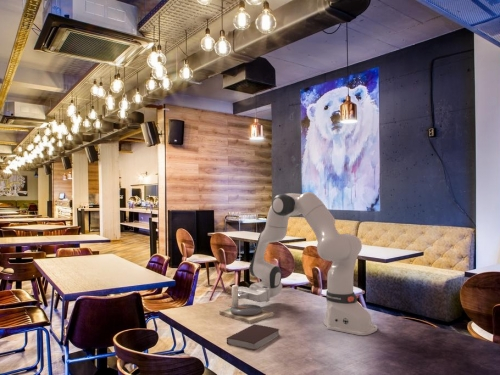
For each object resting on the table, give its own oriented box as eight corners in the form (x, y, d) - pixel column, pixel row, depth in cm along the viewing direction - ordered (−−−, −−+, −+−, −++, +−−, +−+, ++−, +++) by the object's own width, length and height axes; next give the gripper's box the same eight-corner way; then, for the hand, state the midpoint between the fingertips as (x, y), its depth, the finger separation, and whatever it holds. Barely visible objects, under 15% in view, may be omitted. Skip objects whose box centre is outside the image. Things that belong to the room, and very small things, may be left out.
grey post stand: (267, 308, 185) (267, 285, 185) (253, 317, 171) (253, 292, 172) (236, 304, 192) (236, 282, 193) (220, 312, 179) (220, 288, 179)
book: (226, 345, 145) (226, 336, 145) (253, 330, 161) (253, 322, 161) (254, 352, 138) (254, 343, 138) (280, 336, 154) (280, 328, 154)
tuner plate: (273, 315, 180) (273, 312, 180) (249, 323, 169) (249, 319, 169) (243, 307, 194) (243, 304, 194) (219, 314, 183) (219, 310, 183)
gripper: (242, 282, 203) (223, 286, 193) (271, 288, 189) (252, 293, 179) (242, 294, 203) (223, 299, 193) (271, 301, 188) (252, 307, 179)
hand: (237, 296), depth 186 cm, fingers closed
